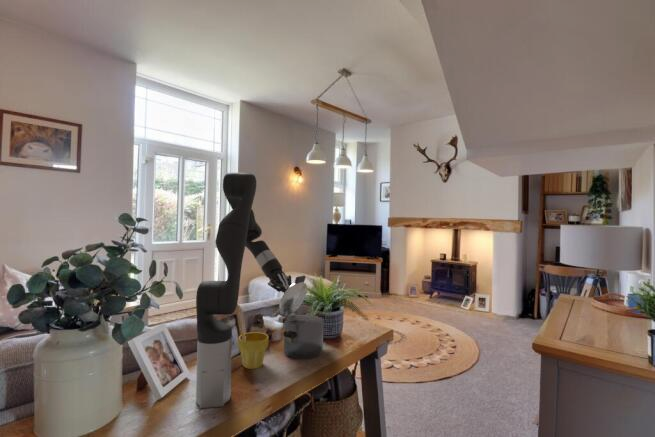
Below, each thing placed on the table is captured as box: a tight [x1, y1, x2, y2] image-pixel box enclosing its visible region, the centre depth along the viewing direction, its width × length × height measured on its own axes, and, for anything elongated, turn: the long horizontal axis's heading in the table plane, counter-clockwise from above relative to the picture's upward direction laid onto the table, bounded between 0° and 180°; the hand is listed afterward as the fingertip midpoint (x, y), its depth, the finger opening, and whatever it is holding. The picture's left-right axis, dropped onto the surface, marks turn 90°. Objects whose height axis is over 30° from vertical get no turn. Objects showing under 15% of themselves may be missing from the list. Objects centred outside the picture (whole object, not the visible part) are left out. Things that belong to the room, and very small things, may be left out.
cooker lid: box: [278, 275, 308, 317], centre depth 136 cm, size 17×15×2 cm
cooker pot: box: [277, 312, 324, 360], centre depth 133 cm, size 17×20×12 cm
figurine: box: [249, 312, 267, 334], centre depth 141 cm, size 7×7×12 cm
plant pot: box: [237, 331, 270, 370], centre depth 120 cm, size 10×10×10 cm
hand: (291, 298), depth 136 cm, fingers closed
